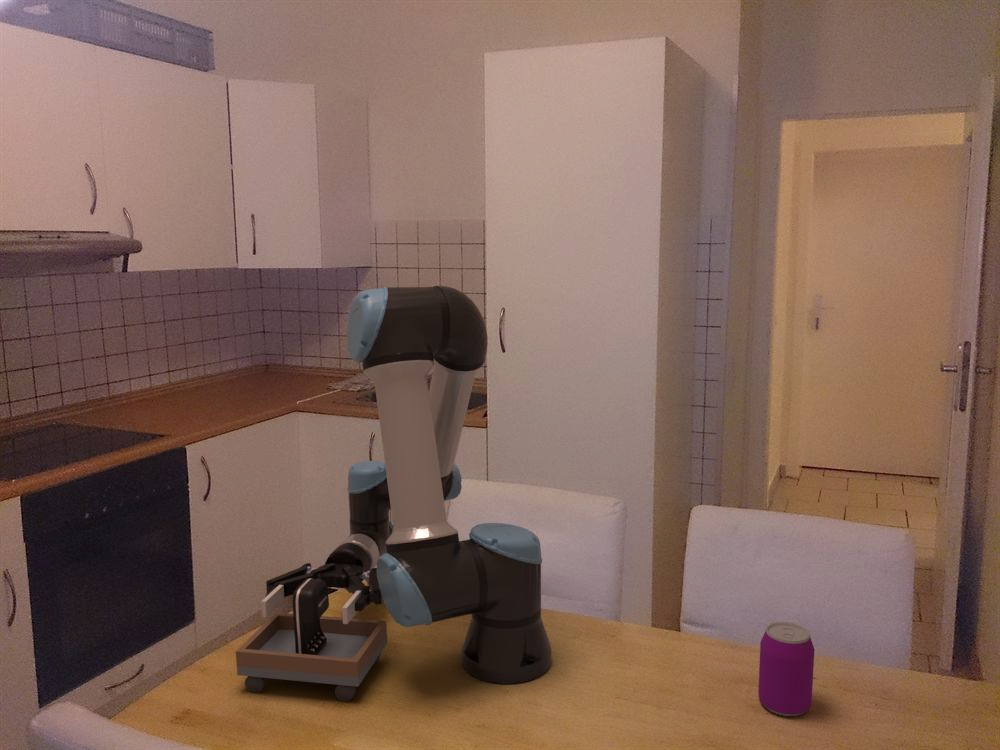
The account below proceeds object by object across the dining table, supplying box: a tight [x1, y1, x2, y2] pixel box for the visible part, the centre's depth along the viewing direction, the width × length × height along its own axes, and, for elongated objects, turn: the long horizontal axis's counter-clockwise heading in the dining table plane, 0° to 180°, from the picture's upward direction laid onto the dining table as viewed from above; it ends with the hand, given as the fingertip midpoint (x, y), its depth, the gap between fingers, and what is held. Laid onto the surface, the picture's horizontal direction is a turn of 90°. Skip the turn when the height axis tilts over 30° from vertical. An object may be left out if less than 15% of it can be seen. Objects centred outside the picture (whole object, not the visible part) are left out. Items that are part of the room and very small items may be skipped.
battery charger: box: [292, 578, 330, 655], centre depth 135 cm, size 7×4×11 cm, turn 170°
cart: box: [235, 611, 388, 703], centre depth 136 cm, size 20×14×7 cm
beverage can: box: [757, 621, 815, 717], centre depth 126 cm, size 8×8×12 cm
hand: (303, 612), depth 131 cm, fingers open, 13 cm apart
